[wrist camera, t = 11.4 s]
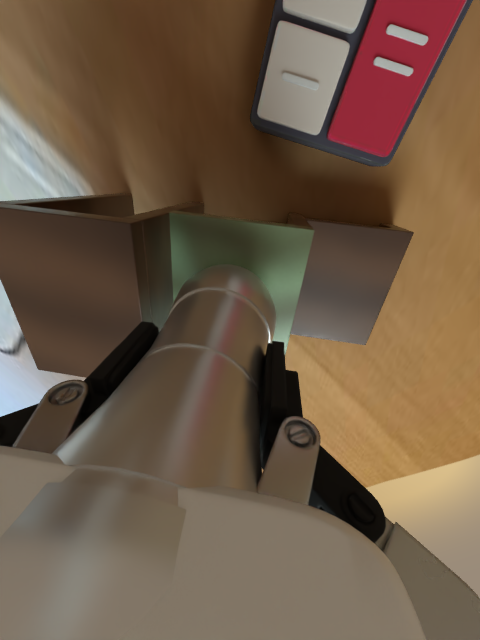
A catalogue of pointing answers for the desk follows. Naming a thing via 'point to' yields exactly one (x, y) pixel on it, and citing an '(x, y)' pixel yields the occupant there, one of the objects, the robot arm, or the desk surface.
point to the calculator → (351, 71)
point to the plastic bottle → (143, 469)
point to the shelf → (179, 271)
